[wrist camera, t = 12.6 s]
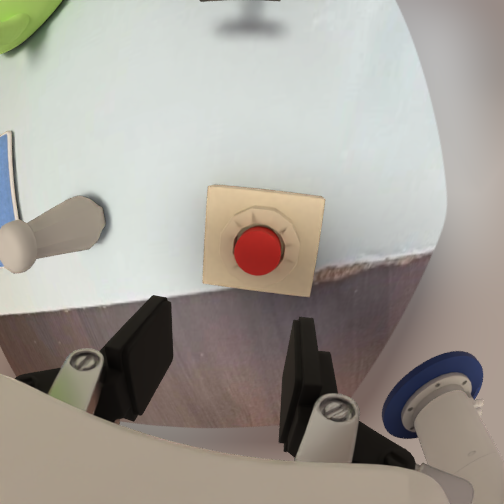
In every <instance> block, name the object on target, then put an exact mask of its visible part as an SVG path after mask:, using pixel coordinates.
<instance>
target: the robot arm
mask: <svg viewBox="0 0 504 504" xmlns="http://www.w3.org/2000/svg"><path fill="white" fill-rule="evenodd" d="M172 360H173V339H172V313H171V302H169V301H167V298H166V297H161V296H155V295H153V296H151V298H150V299H149V300H148V301H147V302H146V303H145V304H144V305H143V306H142V307H141V308H140V309H139V310H138V311H137V312H136V313H135V314H134V315H133V316H132V317H131V318H130V319H129V320H128V321H127V322H126V323H125V324H124V325H123V327H122V328H121V329H120V330H119V331H118V332H117V333H116V334H115V335H114V336H113V337H112V338H111V339H110V340H109V341H108V343H107V344H106V345H105V346H104V347H103V348H102V349H101V350H100V351H97V350H94V349H86V348H84V349H79V350H76V351H74V352H72V353H71V354H69V356H68V357H67V358H66V360H65V362H64V364H63V366H62V367H61V368H57V369H51V370H45V371H40V372H34V373H27V374H23V375H20V376H18V377H16V378H15V379H13V378H11V377H8V376H5V375H2V374H0V504H504V461H503V459H502V457H501V455H500V453H499V451H498V449H497V447H496V445H495V443H494V441H493V439H492V437H491V436H490V434H489V432H488V430H487V428H486V427H485V425H484V423H483V421H482V419H481V418H480V416H481V414H482V409H481V408H480V407H481V406H482V405H483V403H484V401H483V399H477V400H474V399H473V397H472V396H471V390H472V385H471V382H470V380H469V379H468V377H467V376H466V375H464V374H462V373H458V372H454V373H448V374H444V375H441V376H438V377H436V378H434V379H432V380H430V381H429V382H427V383H426V384H424V385H423V386H422V387H420V388H419V389H418V390H417V391H416V392H415V393H414V394H413V395H412V396H411V397H410V398H409V400H408V401H407V402H406V404H405V406H404V407H403V410H402V413H401V420H402V423H403V426H404V427H405V428H406V429H407V430H409V431H412V432H416V433H417V436H418V438H419V441H420V444H421V447H422V450H423V452H424V455H425V458H426V461H427V464H428V465H427V464H424V463H422V464H421V465H417V464H416V463H415V460H414V457H413V456H412V455H411V453H410V452H408V451H407V450H406V449H404V448H402V447H401V446H399V445H397V444H396V443H394V442H392V441H390V440H389V439H387V438H386V437H384V436H382V435H381V434H379V433H377V432H376V431H374V430H373V429H371V428H369V427H368V426H366V425H365V424H363V423H362V422H360V421H359V416H360V409H359V407H358V405H357V403H356V402H355V401H354V400H353V399H351V398H349V397H348V396H345V395H342V394H338V391H337V386H336V380H335V375H334V369H333V364H332V359H331V354H330V352H325V351H318V346H317V339H316V332H315V325H314V319H313V318H305V317H299V320H293V325H292V330H291V335H290V341H289V346H288V351H287V356H286V361H285V366H284V371H283V377H282V393H281V412H280V429H279V443H284V452H289V453H290V454H291V455H292V456H293V457H295V459H294V461H285V460H273V459H264V458H256V457H248V456H241V455H235V454H229V453H223V452H217V451H213V450H208V449H203V448H198V447H193V446H189V445H185V444H181V443H177V442H173V441H169V440H166V439H161V438H158V437H154V436H151V435H148V434H145V433H142V432H139V431H135V430H132V429H129V428H126V427H124V426H121V425H119V424H120V419H122V418H125V419H128V420H131V421H135V419H136V418H137V416H138V415H142V414H143V413H144V411H145V409H146V407H147V405H148V404H149V402H150V400H151V398H152V396H153V395H154V393H155V391H156V389H157V388H158V386H159V384H160V382H161V380H162V379H163V377H164V375H165V373H166V371H167V370H168V368H169V366H170V364H171V362H172ZM476 407H478V408H476Z"/></svg>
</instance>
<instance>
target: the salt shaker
mask: <svg viewBox="0 0 504 504" xmlns="http://www.w3.org/2000/svg"><path fill="white" fill-rule="evenodd" d="M105 225H106V223H105V218H104V213H103V208H102V207H100V206H99V205H97V204H96V203H95V202H93V201H92V200H91V199H89V198H86V197H83V196H75V197H72V198H69V199H67V200H65V201H64V202H62V203H60V204H58V205H57V206H55V207H53V208H51V209H50V210H48V211H46V212H45V213H43V214H41V215H40V216H38V217H36V218H35V219H33V220H31V221H30V222H28V223H25V222H24V221H22V220H14V221H11V222H8V223H6V224H5V225H3V226H2V227H1V229H0V260H1V262H2V264H3V265H4V267H5V268H6V269H8V270H9V271H11V272H12V273H22V272H25V271H27V270H28V269H30V268H31V266H32V265H33V264H34V262H35V261H36V259H38V258H44V257H49V256H54V255H60V254H65V253H71V252H76V251H82V250H87V249H90V248H91V247H92V246H93V245H94V244H95V243H96V242H97V241H98V239H99V237H100V234H101V231H102V230H103V228H104V226H105Z"/></svg>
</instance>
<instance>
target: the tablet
mask: <svg viewBox="0 0 504 504" xmlns="http://www.w3.org/2000/svg"><path fill="white" fill-rule="evenodd" d="M14 220H19V218H18V211H17V204H16V197H15V188H14V178H13V165H12V133H11V131H7V132H5V133H3V134H2V135H0V229H1V227H2V226H3V225H5V224H6V223H8V222H11V221H14ZM1 268H5V267H4V265H3V264H2V262H1V260H0V269H1Z"/></svg>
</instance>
